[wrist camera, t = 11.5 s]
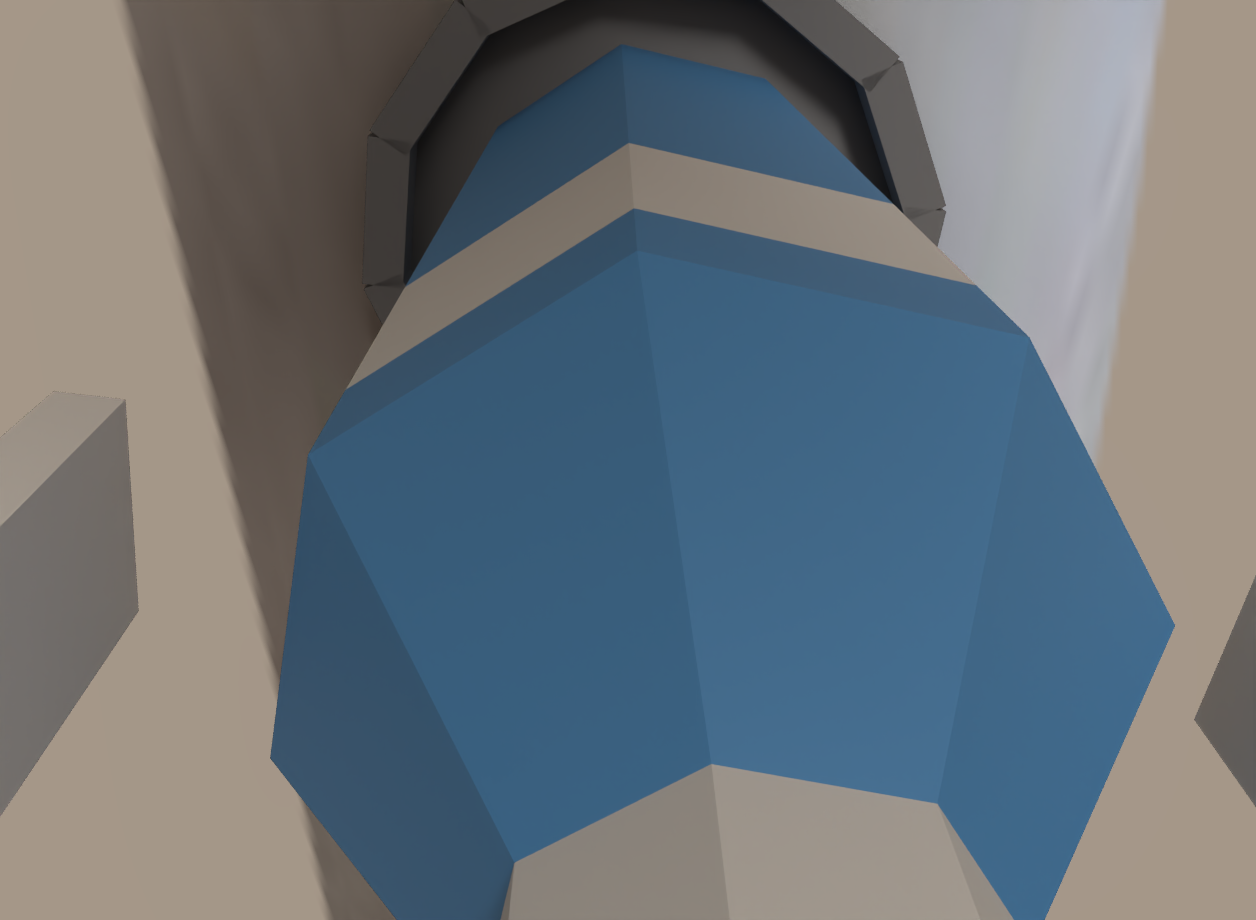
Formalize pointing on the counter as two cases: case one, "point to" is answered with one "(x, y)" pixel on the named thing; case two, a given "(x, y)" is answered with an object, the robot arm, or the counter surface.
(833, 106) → the coaster ring
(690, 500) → the water bottle
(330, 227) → the counter surface
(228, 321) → the counter surface
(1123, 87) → the counter surface
